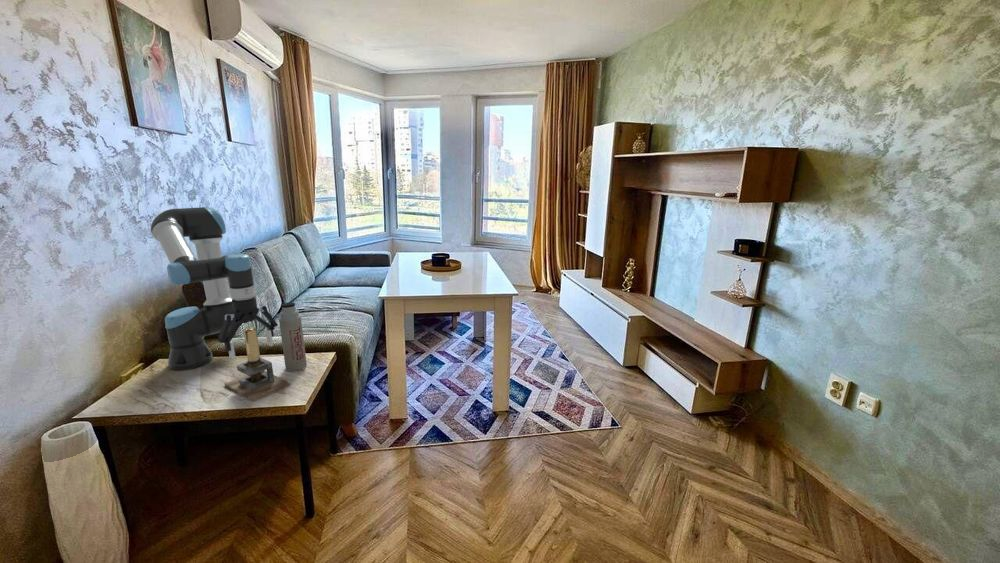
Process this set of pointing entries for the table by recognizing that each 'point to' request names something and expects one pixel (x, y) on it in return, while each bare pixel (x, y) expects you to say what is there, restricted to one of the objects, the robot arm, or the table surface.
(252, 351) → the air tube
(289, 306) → the thermos bottle
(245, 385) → the collar stand
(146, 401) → the table surface
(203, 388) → the table surface
